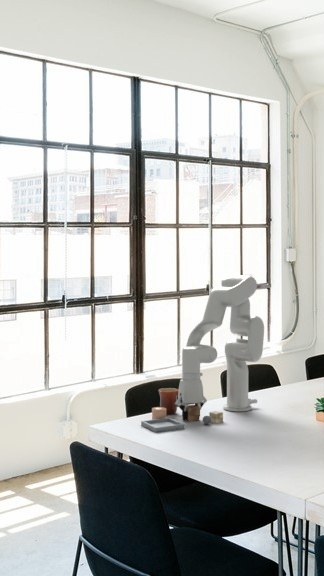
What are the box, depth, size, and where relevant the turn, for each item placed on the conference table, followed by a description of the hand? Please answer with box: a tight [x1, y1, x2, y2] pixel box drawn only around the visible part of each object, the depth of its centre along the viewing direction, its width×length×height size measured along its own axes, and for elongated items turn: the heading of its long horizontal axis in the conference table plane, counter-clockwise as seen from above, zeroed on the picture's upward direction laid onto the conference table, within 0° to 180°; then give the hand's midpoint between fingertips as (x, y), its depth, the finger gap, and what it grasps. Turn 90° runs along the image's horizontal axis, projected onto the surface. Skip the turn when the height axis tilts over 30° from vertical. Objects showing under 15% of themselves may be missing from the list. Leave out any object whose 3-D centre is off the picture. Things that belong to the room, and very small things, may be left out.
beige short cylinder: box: [151, 406, 167, 420], centre depth 301 cm, size 6×6×5 cm
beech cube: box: [208, 410, 224, 424], centre depth 299 cm, size 4×4×4 cm
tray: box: [140, 417, 185, 433], centre depth 290 cm, size 13×13×2 cm
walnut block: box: [186, 404, 200, 423], centre depth 301 cm, size 5×5×6 cm
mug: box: [158, 387, 182, 416], centre depth 314 cm, size 12×9×10 cm
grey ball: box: [202, 415, 212, 426], centre depth 294 cm, size 4×4×4 cm
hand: (191, 419), depth 301 cm, fingers closed on walnut block, 5 cm apart
